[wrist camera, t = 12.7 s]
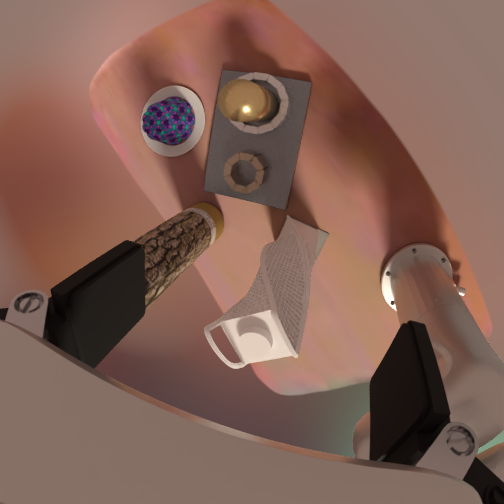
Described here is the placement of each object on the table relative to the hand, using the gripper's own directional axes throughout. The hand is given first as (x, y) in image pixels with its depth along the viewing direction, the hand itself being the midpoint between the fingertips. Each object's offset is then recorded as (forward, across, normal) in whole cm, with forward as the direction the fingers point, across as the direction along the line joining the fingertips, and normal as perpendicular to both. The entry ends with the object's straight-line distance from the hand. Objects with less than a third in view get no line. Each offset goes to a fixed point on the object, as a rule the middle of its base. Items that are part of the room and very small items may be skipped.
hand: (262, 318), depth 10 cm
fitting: (+35, +10, -8) cm, 37 cm away
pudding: (+37, +24, -4) cm, 44 cm away
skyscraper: (+37, +1, +11) cm, 38 cm away
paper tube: (+36, +16, +12) cm, 42 cm away
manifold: (+36, +10, -3) cm, 38 cm away
